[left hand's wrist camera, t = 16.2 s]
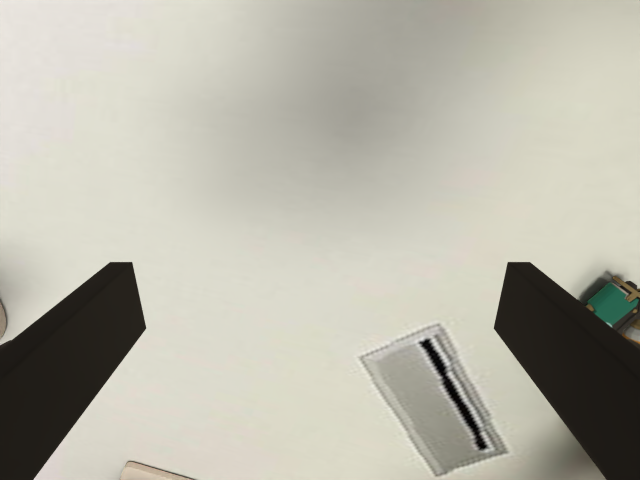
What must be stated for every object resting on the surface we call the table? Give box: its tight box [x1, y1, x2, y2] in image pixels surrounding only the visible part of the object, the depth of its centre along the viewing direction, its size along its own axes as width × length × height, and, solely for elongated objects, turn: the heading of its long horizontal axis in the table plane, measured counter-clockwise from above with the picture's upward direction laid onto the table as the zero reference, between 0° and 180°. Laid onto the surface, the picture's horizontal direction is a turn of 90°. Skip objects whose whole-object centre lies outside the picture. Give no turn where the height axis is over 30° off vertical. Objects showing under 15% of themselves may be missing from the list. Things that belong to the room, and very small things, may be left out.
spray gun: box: [586, 276, 640, 344], centre depth 46 cm, size 4×17×15 cm
